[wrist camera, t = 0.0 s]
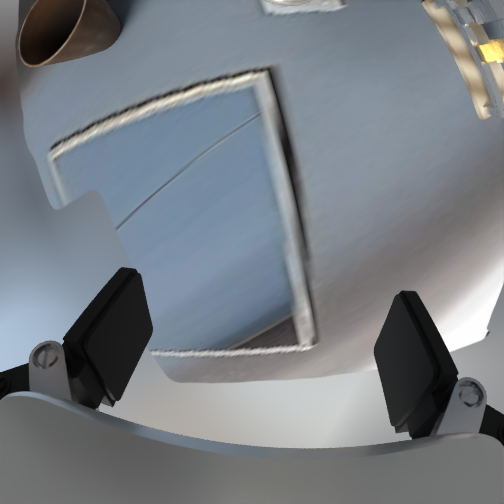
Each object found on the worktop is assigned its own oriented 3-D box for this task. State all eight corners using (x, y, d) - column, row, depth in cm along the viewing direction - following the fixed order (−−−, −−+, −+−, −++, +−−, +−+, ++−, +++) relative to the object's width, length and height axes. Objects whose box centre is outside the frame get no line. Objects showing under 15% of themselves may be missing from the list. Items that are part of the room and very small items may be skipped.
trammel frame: (429, 2, 23) (465, -18, 12) (453, -2, 21) (489, -18, 10) (485, 115, 31) (530, 124, 20) (505, 106, 29) (547, 114, 18)
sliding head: (459, 46, 26) (499, 39, 16) (481, 41, 23) (519, 35, 13) (469, 67, 27) (510, 64, 17) (490, 60, 25) (529, 58, 15)
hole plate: (420, 2, 25) (424, 0, 23) (459, -4, 21) (463, -6, 19) (479, 118, 33) (484, 119, 32) (511, 103, 29) (516, 104, 28)
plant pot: (102, 83, 38) (42, 83, 24) (64, 51, 34) (8, 47, 20) (154, 19, 32) (104, -8, 18) (109, -8, 28) (58, -30, 14)
